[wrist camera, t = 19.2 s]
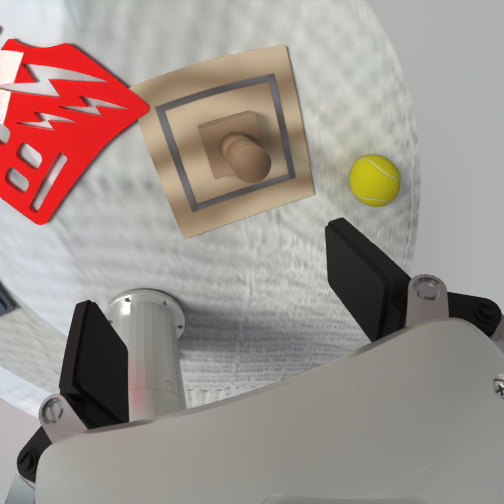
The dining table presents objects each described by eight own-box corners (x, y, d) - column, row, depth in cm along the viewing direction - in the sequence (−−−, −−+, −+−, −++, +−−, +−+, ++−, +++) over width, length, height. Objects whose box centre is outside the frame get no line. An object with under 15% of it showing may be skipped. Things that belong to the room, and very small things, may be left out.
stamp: (260, 157, 34) (292, 186, 26) (212, 173, 34) (228, 207, 26) (248, 110, 31) (279, 122, 23) (197, 125, 30) (208, 143, 22)
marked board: (312, 193, 39) (314, 194, 39) (184, 237, 38) (184, 239, 37) (284, 45, 27) (285, 44, 27) (127, 88, 26) (126, 88, 26)
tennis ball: (348, 143, 36) (380, 158, 31) (385, 155, 39) (416, 171, 33) (333, 190, 40) (361, 211, 34) (370, 197, 42) (398, 218, 37)
